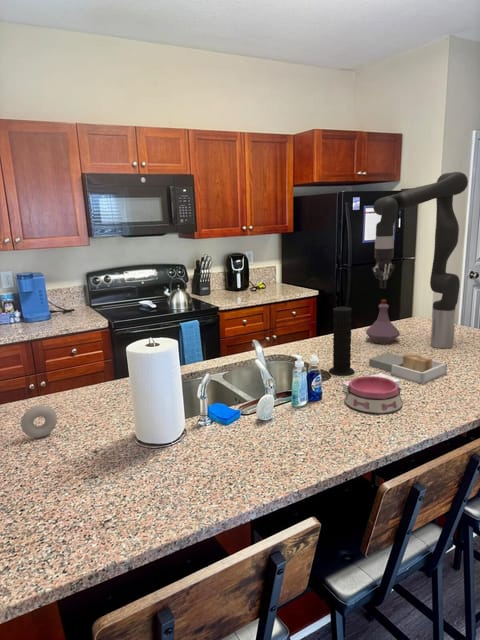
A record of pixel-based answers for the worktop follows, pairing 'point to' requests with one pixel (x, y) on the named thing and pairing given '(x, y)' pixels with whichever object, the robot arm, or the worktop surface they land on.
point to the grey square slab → (386, 361)
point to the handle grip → (342, 342)
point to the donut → (32, 415)
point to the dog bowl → (373, 395)
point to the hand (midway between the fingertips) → (382, 288)
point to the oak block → (417, 362)
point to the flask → (383, 327)
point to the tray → (420, 377)
